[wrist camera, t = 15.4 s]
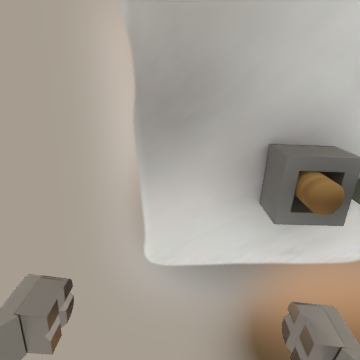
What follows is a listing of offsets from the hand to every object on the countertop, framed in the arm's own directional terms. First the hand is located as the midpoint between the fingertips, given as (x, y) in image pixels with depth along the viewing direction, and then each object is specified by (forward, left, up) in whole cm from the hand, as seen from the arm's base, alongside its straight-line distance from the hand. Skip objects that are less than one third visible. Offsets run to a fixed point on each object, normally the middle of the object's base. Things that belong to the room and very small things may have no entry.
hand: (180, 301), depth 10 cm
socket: (+4, +17, -27) cm, 32 cm away
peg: (+4, +17, -27) cm, 32 cm away
